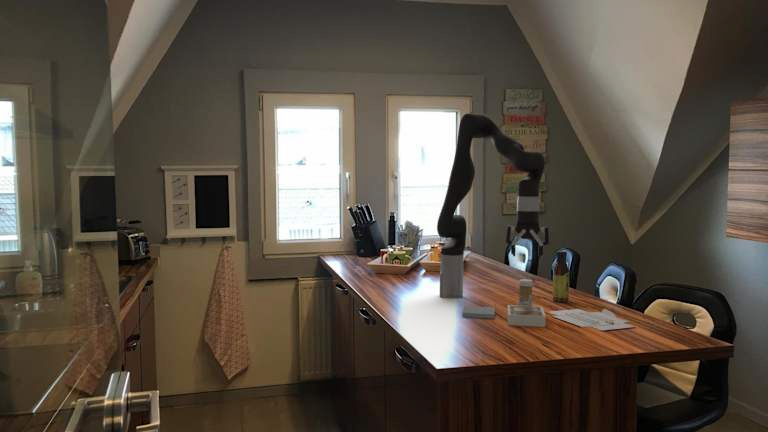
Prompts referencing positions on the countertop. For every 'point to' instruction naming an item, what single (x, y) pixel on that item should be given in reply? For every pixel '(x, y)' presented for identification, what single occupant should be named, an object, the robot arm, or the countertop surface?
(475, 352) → the countertop surface
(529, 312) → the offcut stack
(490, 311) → the ceramic tile
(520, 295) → the sprinkles bottle
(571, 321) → the white cloth
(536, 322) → the shallow white open box
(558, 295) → the sauce bottle
